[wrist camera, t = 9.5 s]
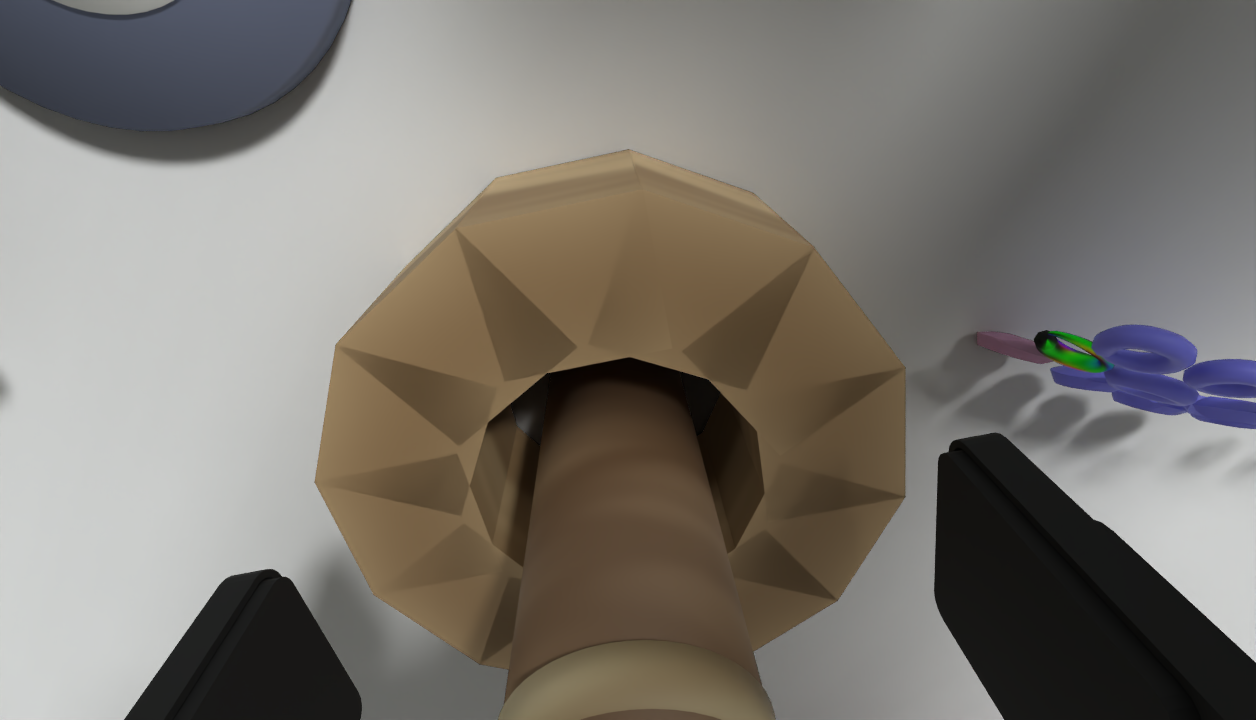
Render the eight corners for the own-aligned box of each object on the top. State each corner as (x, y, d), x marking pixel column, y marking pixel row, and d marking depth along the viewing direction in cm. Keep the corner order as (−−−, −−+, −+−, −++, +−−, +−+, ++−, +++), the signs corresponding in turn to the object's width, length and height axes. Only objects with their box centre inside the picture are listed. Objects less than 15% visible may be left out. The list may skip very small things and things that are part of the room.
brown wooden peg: (669, 306, 14) (807, 778, 5) (691, 423, 15) (829, 961, 6) (532, 333, 14) (418, 843, 5) (565, 447, 15) (523, 1007, 6)
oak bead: (814, 109, 12) (906, 133, 9) (838, 508, 17) (905, 635, 13) (319, 215, 13) (208, 280, 9) (471, 576, 17) (437, 717, 13)
